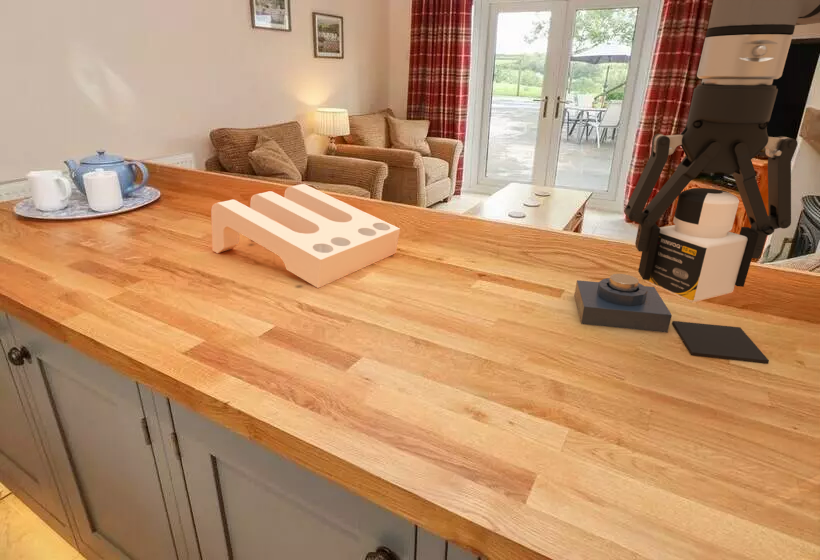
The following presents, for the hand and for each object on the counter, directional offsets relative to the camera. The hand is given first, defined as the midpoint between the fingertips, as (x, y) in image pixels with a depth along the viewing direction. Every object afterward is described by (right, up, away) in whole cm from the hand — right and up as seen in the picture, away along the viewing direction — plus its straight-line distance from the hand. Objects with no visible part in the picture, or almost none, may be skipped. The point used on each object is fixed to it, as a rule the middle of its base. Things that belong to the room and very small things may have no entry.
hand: (688, 278), depth 60 cm
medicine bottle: (0, -1, 0) cm, 1 cm away
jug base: (+1, -6, +23) cm, 24 cm away
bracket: (-57, +6, +48) cm, 75 cm away
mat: (+12, -10, +14) cm, 21 cm away
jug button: (+1, -2, +21) cm, 21 cm away
